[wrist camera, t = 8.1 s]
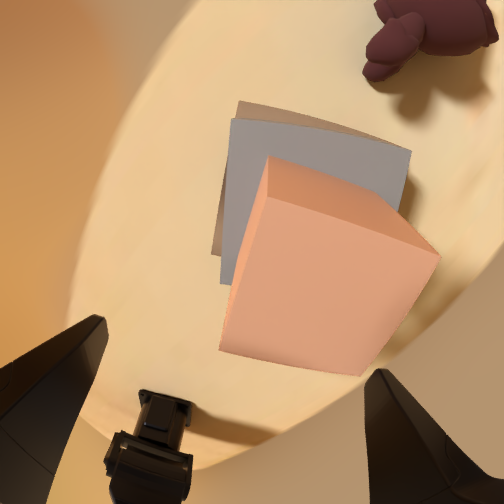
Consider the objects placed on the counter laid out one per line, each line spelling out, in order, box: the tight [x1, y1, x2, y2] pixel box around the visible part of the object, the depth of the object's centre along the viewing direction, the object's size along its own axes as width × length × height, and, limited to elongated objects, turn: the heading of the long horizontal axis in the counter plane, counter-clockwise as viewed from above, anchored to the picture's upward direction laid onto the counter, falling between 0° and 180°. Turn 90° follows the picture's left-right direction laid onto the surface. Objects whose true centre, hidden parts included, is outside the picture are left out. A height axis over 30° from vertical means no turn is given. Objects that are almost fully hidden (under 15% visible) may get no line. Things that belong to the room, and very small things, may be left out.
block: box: [219, 155, 441, 376], centre depth 10 cm, size 5×5×6 cm
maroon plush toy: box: [362, 0, 499, 82], centre depth 8 cm, size 7×7×15 cm
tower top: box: [220, 118, 412, 285], centre depth 14 cm, size 8×8×3 cm
